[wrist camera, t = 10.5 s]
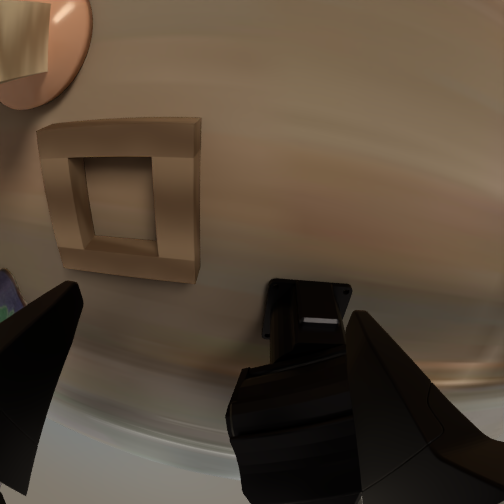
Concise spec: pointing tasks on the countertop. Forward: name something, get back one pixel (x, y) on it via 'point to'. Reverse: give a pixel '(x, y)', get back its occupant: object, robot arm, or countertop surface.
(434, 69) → the countertop surface
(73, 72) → the terracotta plate
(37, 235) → the countertop surface
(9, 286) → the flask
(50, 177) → the pocket board
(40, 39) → the maple block
